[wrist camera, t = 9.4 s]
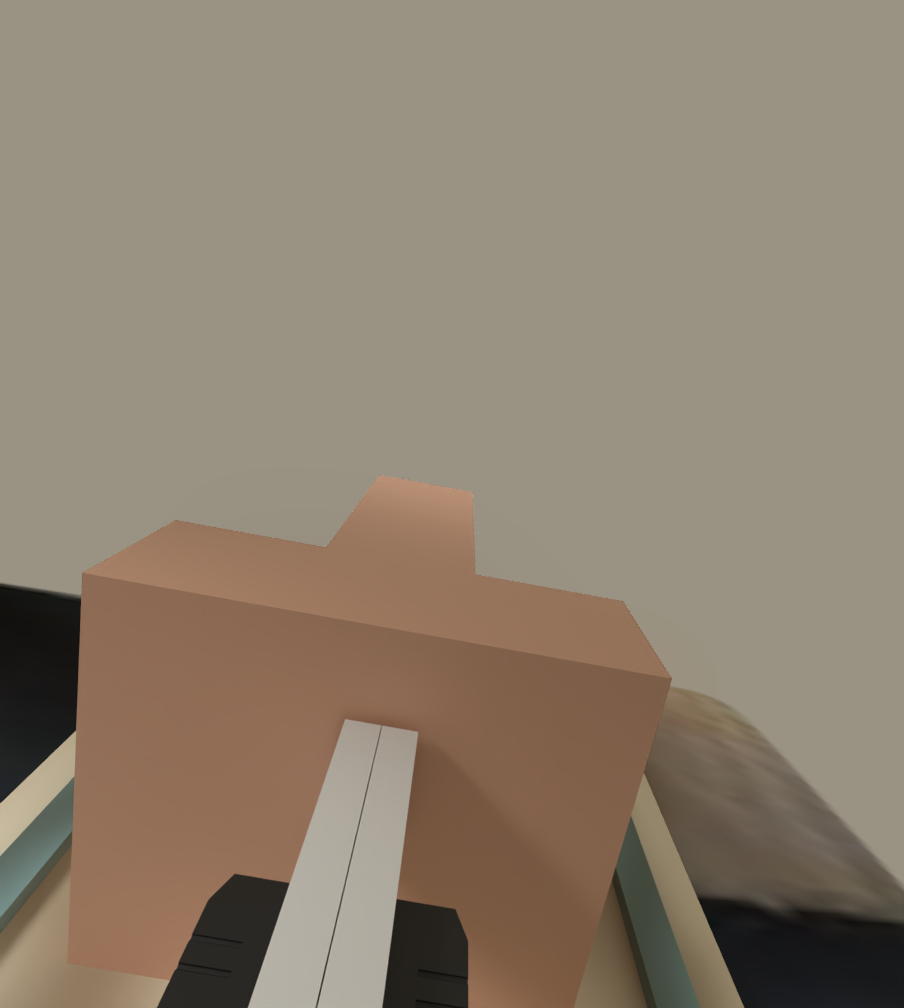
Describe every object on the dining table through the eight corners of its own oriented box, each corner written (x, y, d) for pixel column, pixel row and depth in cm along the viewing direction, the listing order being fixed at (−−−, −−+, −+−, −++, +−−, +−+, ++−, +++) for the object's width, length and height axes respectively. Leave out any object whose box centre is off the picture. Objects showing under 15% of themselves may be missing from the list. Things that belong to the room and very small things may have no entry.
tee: (67, 962, 15) (82, 572, 12) (261, 669, 28) (286, 457, 26) (561, 1046, 15) (671, 678, 12) (516, 714, 28) (565, 509, 26)
